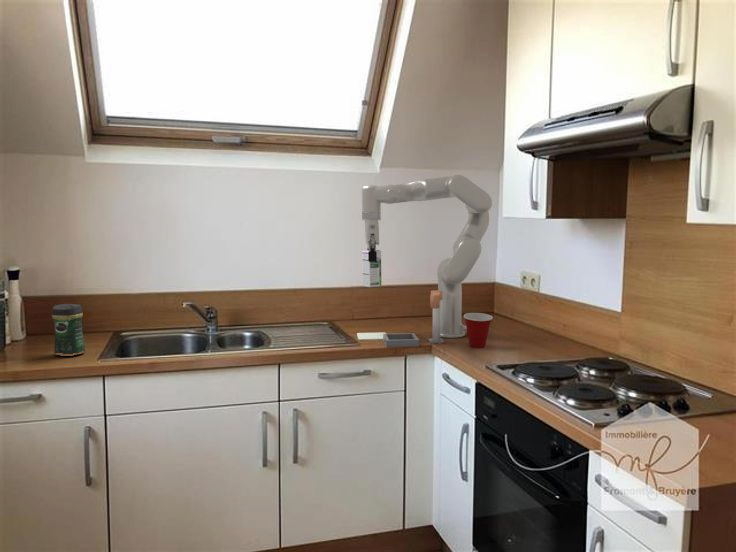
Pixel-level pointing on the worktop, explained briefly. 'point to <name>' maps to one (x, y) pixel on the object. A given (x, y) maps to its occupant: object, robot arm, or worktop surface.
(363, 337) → the mat
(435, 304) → the orange bar
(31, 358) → the worktop surface
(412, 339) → the socket
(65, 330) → the coffee jar
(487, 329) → the plastic cup
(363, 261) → the syrup box
